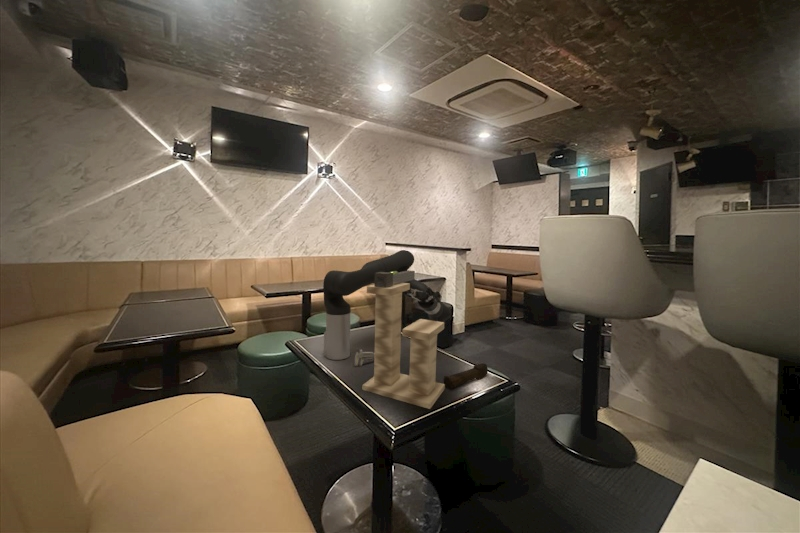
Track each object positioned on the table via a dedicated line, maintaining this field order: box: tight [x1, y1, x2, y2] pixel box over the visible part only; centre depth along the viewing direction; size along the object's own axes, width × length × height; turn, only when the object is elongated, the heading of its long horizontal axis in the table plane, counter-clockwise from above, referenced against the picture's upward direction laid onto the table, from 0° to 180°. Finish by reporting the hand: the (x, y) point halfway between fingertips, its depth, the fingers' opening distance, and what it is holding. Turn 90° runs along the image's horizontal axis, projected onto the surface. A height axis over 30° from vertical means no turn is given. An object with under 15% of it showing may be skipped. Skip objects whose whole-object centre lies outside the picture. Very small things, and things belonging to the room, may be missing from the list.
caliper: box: [354, 349, 402, 368], centre depth 116 cm, size 20×1×6 cm, turn 128°
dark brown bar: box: [443, 362, 488, 390], centre depth 101 cm, size 19×4×5 cm, turn 122°
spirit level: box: [373, 269, 416, 288], centre depth 99 cm, size 4×22×4 cm, turn 154°
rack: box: [361, 282, 446, 410], centre depth 93 cm, size 22×13×32 cm, turn 64°
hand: (416, 288), depth 114 cm, fingers open, 8 cm apart
